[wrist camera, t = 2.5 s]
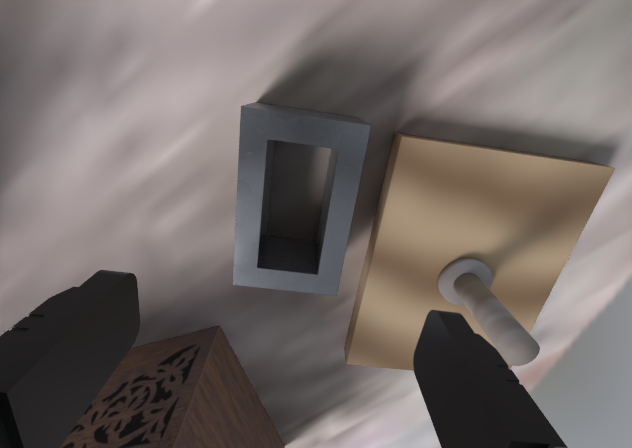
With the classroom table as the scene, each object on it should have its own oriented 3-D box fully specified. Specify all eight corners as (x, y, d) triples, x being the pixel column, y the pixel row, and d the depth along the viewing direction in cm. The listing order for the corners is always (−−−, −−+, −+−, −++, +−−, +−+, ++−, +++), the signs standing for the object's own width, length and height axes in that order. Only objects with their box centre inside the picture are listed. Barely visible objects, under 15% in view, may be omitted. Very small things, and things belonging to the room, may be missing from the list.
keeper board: (394, 132, 18) (449, 161, 11) (592, 162, 19) (759, 205, 12) (344, 348, 24) (358, 453, 17) (494, 362, 25) (565, 468, 18)
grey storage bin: (256, 102, 17) (241, 106, 13) (358, 117, 17) (371, 125, 14) (246, 249, 20) (232, 284, 17) (331, 259, 21) (336, 295, 17)
